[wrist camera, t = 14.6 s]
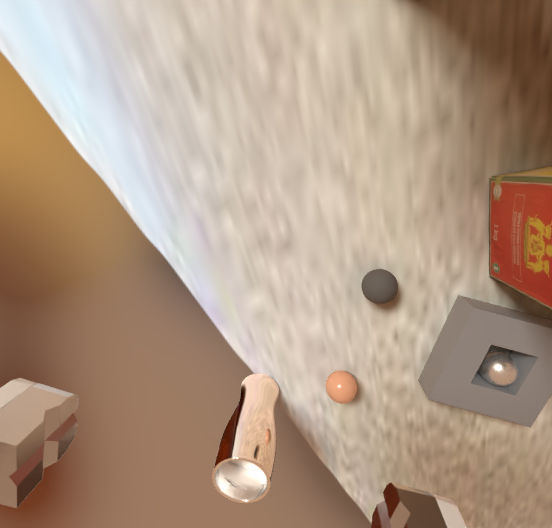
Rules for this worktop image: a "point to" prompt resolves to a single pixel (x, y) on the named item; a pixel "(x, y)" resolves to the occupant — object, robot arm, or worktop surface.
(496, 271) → the food packaging
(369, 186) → the worktop surface
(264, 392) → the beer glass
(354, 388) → the terracotta ball
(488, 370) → the steel ball
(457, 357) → the housing
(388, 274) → the black rubber ball
